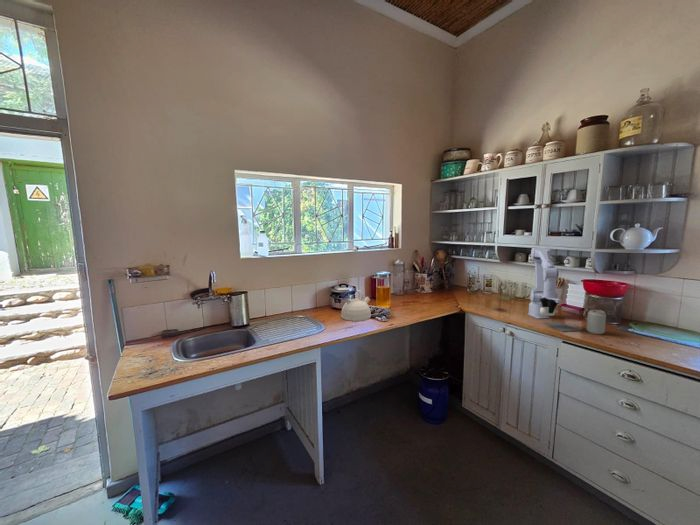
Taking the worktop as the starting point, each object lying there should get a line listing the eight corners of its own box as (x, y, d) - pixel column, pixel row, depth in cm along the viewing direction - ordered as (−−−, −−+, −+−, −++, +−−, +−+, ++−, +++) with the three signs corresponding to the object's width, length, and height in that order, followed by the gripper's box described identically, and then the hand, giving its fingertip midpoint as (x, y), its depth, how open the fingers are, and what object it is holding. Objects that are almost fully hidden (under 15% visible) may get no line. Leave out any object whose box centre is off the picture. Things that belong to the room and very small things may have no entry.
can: (584, 329, 158) (586, 308, 157) (602, 331, 154) (604, 309, 153) (587, 333, 152) (589, 311, 150) (606, 335, 148) (608, 313, 146)
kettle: (376, 318, 185) (376, 291, 182) (347, 323, 177) (346, 294, 175) (364, 310, 203) (363, 285, 201) (336, 314, 196) (335, 288, 194)
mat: (543, 323, 168) (543, 322, 168) (558, 322, 169) (559, 321, 169) (563, 331, 154) (563, 331, 154) (579, 330, 155) (580, 330, 155)
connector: (542, 315, 161) (543, 309, 160) (538, 314, 164) (538, 307, 164) (558, 315, 161) (558, 308, 161) (553, 313, 165) (554, 306, 164)
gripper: (533, 286, 168) (532, 308, 170) (553, 291, 154) (551, 316, 155) (545, 286, 168) (543, 308, 170) (565, 291, 154) (563, 315, 156)
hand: (548, 312), depth 163 cm, fingers closed on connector, 3 cm apart
